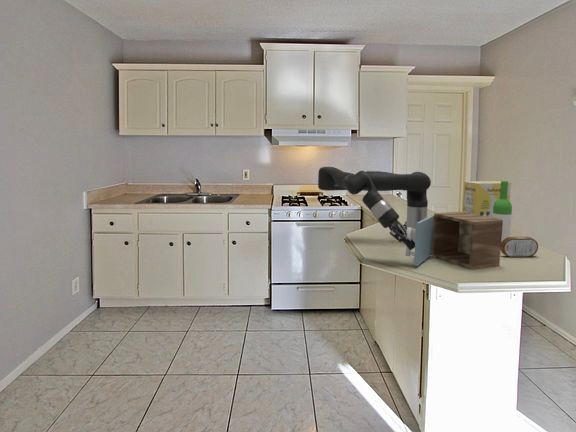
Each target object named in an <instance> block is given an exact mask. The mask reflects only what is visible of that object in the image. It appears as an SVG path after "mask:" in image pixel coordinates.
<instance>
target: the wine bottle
mask: <svg viewBox="0 0 576 432" xmlns="http://www.w3.org/2000/svg"><path fill="white" fill-rule="evenodd" d="M500 182H501V189H500V198H499V200H497V201H496V202H495V203H494V206H493V217H492V218H497V219H502V220H503V226H502V239H501V243H502V241H503V240H504V239H505V238H507V237H511V228H512V227H511V224H512V214H513V213H512V212H513V206H512V203H511V200H510V201H509V200H508V199H507V192H508V183H509V180H501V181H500Z"/></svg>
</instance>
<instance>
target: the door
mask: <svg viewBox="0 0 576 432" xmlns="http://www.w3.org/2000/svg"><path fill="white" fill-rule="evenodd" d="M433 229H434V214H433V215H429V216H427V218H425V219H423V220H421V221H419V222H417V223H416V229H412V228H411V227H407V235H406V236H407V237H408V239H409V240H410V241H411V232H413V233H416V236H415V248H414V251H412V250H410V249H409V248H408V247H407V246H406V245H405V256H406V257H411V256H414V258H413V261H414V262H413V266H414V267H418V266H419V265H420V264H422V263H423V262H425V261H426V260H427V259H428V258H429V257H432V246H433Z"/></svg>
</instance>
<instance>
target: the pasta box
mask: <svg viewBox="0 0 576 432" xmlns="http://www.w3.org/2000/svg"><path fill="white" fill-rule="evenodd" d="M511 187H512V182H508V192H507V199H508V200H509V201H510V202H511V190H512V189H511ZM500 189H501V181H500V180H499V181H498V180H492V181H491V180H487V181H486V180H484V181H483V180H480V181H479V180H478V181H477V180H476V181H474V180H473V181H464V182H463V192H462V193H463V194H462V195H463V196H462V210H461V212H466V213H471V214H476V215H481V216H486V217H491V218H492V217H493V206H494V203H495V202H496V201H497V200H499V198H500Z"/></svg>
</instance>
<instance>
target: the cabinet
mask: <svg viewBox="0 0 576 432" xmlns="http://www.w3.org/2000/svg"><path fill="white" fill-rule="evenodd" d="M433 216H434V229H433V246H432V255H431V257H434V256H435V258H437V257H438V258H437V259H440V260H442V259H443V261H446V262H448V263H451V264H455V265H457V266H460V267H462V268H463V267H464V268H466V269H469V270H477V269H483V268H484V269H485V268H491V267H492V268H493V267H499V266H500V263H501V261H500V260H501V239H502V226H503V220H502V219H497V218H491V217H486V216H481V215H476V214H471V213H466V212H462V211H450V212H435V213H433Z"/></svg>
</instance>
